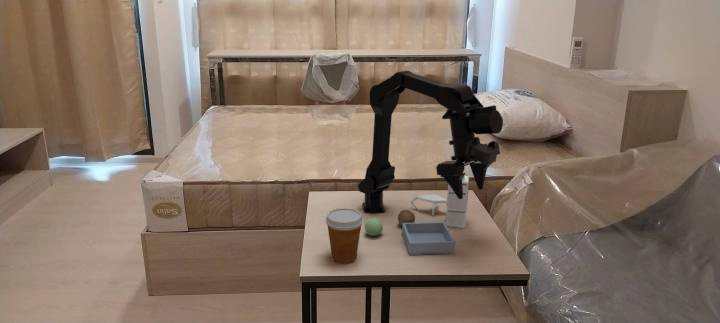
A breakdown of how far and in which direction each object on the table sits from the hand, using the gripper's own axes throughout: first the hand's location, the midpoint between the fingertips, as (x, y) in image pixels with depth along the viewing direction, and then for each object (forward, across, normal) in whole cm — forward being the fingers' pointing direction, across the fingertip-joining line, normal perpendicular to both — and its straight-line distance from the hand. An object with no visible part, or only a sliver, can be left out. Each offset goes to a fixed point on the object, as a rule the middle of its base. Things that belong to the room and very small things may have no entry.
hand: (470, 194), depth 138 cm
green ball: (+10, -13, +25) cm, 30 cm away
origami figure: (+10, +11, +24) cm, 29 cm away
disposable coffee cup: (+11, -28, +22) cm, 37 cm away
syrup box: (+13, +10, +14) cm, 21 cm away
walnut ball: (+10, -2, +23) cm, 25 cm away
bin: (+13, -6, +12) cm, 19 cm away
